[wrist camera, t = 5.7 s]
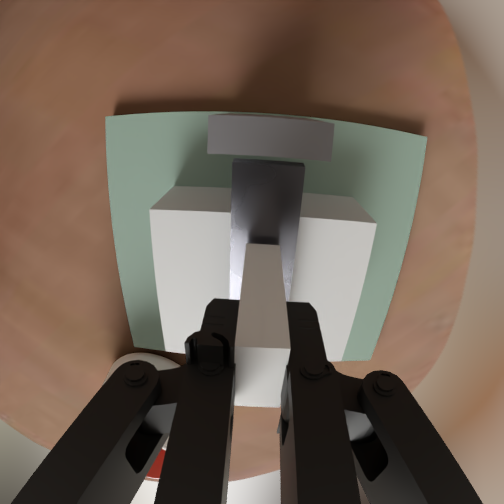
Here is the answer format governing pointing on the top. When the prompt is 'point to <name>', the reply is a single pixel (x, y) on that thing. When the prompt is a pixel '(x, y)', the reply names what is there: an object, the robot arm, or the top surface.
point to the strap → (264, 213)
